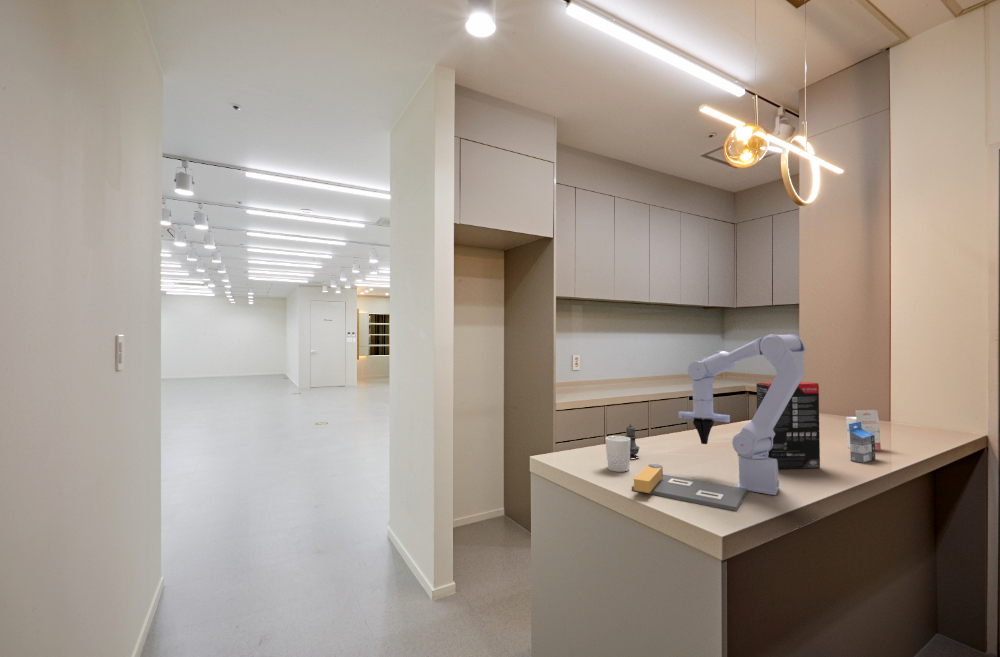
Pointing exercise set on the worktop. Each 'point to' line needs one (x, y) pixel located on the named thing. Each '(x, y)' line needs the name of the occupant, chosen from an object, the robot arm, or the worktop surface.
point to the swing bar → (648, 478)
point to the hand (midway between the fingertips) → (704, 443)
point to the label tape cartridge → (861, 444)
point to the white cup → (618, 453)
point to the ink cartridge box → (866, 425)
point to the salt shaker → (632, 441)
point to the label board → (699, 492)
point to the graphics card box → (796, 428)
